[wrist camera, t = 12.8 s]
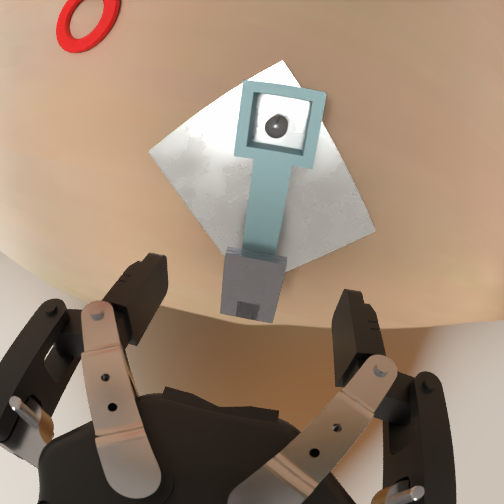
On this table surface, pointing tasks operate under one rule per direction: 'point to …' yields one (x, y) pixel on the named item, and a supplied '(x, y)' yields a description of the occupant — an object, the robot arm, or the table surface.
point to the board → (240, 171)
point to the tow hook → (95, 36)
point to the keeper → (251, 284)
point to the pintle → (277, 125)
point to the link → (272, 162)
